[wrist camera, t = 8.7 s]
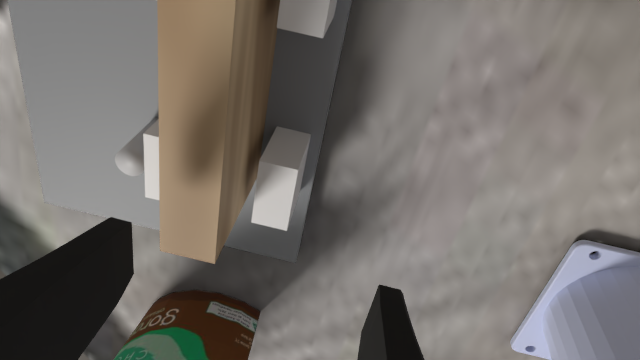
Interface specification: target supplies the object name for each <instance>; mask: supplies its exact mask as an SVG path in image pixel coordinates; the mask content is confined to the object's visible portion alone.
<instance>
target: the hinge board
mask: <svg viewBox="0 0 640 360" xmlns="http://www.w3.org/2000/svg"><path fill="white" fill-rule="evenodd" d="M8 5H9V11H10V16H11V22H12V28H13V33H14V39H15V44H16V50H17V55H18V61H19V66H20V72H21V77H22V83H23V88H24V94H25V99H26V105H27V110H28V116H29V121H30V127H31V132H32V138H33V143H34V149H35V154H36V160H37V165H38V171H39V176H40V182H41V187H42V193H43V198H44V203H47V204H51V205H55V206H60V207H64V208H68V209H72V210H76V211H80V212H85V213H89V214H93V215H97V216H101V217H105V218H110V217H113V218H117V219H121V220H125V221H129V222H132V224H135V225H139V226H143V227H147V228H151V229H155V230H159V231H160V205H159V107H158V10H157V0H8ZM351 5H352V0H280V5H279V13H278V21H277V36H276V43H275V51H274V58H273V66H272V74H271V81H270V89H269V97H268V104H267V112H266V119H265V127H264V135H263V142H262V150H261V158H260V160H259V167H258V174H257V179H256V181H255V183H254V185H253V187H252V189H251V191H250V193H249V195H248V197H247V199H246V201H245V203H244V205H243V207H242V209H241V211H240V214H239V216H238V218H237V220H236V222H235V224H234V226H233V228H232V230H231V232H230V234H229V236H228V238H227V240H226V242H225V244H224V246H226V247H230V248H234V249H239V250H243V251H247V252H251V253H255V254H259V255H264V256H268V257H272V258H276V259H280V260H284V261H288V262H293V263H296V260H297V257H298V253H299V249H300V244H301V240H302V235H303V230H304V226H305V221H306V216H307V212H308V207H309V202H310V197H311V193H312V188H313V183H314V179H315V174H316V169H317V165H318V160H319V155H320V150H321V146H322V141H323V136H324V132H325V127H326V122H327V118H328V113H329V108H330V103H331V99H332V94H333V89H334V85H335V80H336V75H337V71H338V66H339V61H340V56H341V52H342V47H343V42H344V38H345V33H346V28H347V24H348V19H349V14H350V9H351Z"/></svg>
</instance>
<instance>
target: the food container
mask: <svg viewBox="0 0 640 360" xmlns="http://www.w3.org/2000/svg"><path fill="white" fill-rule="evenodd" d="M259 316H260V311H259V310H257V309H255V308H254V307H252V306H250V305H249V304H247V303H245V302H243V301H240V300H237V299H235V298H232V297H229V296H226V295H224V294H221V293H215V292H207V291H200V290H190V291H181V292H173V293H171V294H169V295H166V296H164V297H162V298H160V299H159V300H157V301H156V302H155V303H154V304H153V305H152V306H151V308H150V309H149V310H148V312H147V313H146V315H145V316H144V317H143V319H142V320H141V322H140V323H139V325H138V326H137V327H136V329H135V330H134V332H133V333H132V334H131V336H130V337H129V339H128V340H127V342H126V343H125V344H124V346H123V347H122V349H121V350H120V351H119V353H118V354H117V356H116V357H115V358H114V360H248V357H249V353H250V350H251V346H252V342H253V338H254V334H255V331H256V327H257V323H258V319H259Z"/></svg>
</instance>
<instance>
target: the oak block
mask: <svg viewBox="0 0 640 360" xmlns="http://www.w3.org/2000/svg"><path fill="white" fill-rule="evenodd" d="M279 5H280V0H157V10H158V107H159V205H160V251H163V252H167V253H171V254H175V255H180V256H184V257H188V258H192V259H196V260H200V261H204V262H209V263H213V264H215V262H216V260H217V258H218V256H219V254H220V252H221V250H222V248H223V246H224V244H225V242H226V240H227V238H228V236H229V234H230V232H231V230H232V228H233V226H234V224H235V222H236V220H237V218H238V216H239V214H240V211H241V209H242V207H243V205H244V203H245V201H246V199H247V197H248V195H249V193H250V191H251V189H252V187H253V185H254V183H255V181H256V179H257V174H258V167H259V160H260V158H261V150H262V142H263V135H264V127H265V119H266V112H267V104H268V97H269V89H270V81H271V74H272V66H273V58H274V51H275V43H276V36H277V21H278V13H279Z"/></svg>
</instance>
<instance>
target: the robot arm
mask: <svg viewBox="0 0 640 360" xmlns="http://www.w3.org/2000/svg"><path fill="white" fill-rule="evenodd" d="M594 251H598V252H596V253H595V254H590V253H591V252H594ZM133 274H134V269H133V245H132V222H129V221H125V220H121V219H117V218H113V217H110V218H108V219H107V220H105V221H103V222H101V223H100V224H98V225H96V226H95V227H93V228H91V229H90V230H88V231H86V232H85V233H83V234H81V235H80V236H78V237H76V238H74V239H73V240H71V241H69V242H68V243H66V244H64V245H63V246H61V247H59V248H57V249H56V250H54V251H52V252H50V253H49V254H47V255H45V256H43V257H42V258H40V259H38V260H36V261H34V262H32V263H31V264H29V265H27V266H25V267H23V268H21V269H19V270H17V271H15V272H13V273H11V274H10V275H8V276H6V277H4V278H2V279H0V360H78V358H79V357H80V356H81V354H82V353H83V352H84V350H85V349H86V347H87V346H88V345H89V343H90V342H91V340H92V339H93V338H94V336H95V335H96V334H97V332H98V331H99V329H100V328H101V327H102V325H103V324H104V322H105V321H106V320H107V318H108V317H109V315H110V314H111V312H112V311H113V310H114V308H115V307H116V305H117V304H118V302H119V300H120V298H121V296H122V295H123V293H124V291H125V289H126V287H127V285H128V283H129V282H130V280H131V278H132V276H133ZM511 346H512V349H513V350H515V351H517V352H521V353H525V354H529V355H533V356H537V357H541V358H545V359H549V360H640V252H635V251H631V250H627V249H623V248H618V247H614V246H610V245H606V244H601V243H597V242H593V241H589V240H580V241H577V242H575V243H574V244H573V245H572V246H571V247H570V249H569V250H568V252H567V254H566V255H565V257H564V258H563V260H562V261H561V263H560V264H559V266H558V267H557V269H556V271H555V272H554V274H553V275H552V277H551V278H550V280H549V281H548V283H547V285H546V286H545V288H544V289H543V291H542V292H541V294H540V295H539V297H538V299H537V300H536V302H535V303H534V305H533V306H532V308H531V309H530V311H529V313H528V314H527V316H526V317H525V319H524V320H523V322H522V323H521V325H520V327H519V328H518V330H517V331H516V333H515V334H514V336H513V337H512V339H511ZM358 360H424V358H423V355H422V352H421V350H420V347H419V344H418V342H417V339H416V336H415V333H414V330H413V327H412V324H411V321H410V318H409V314H408V311H407V308H406V304H405V300H404V296H403V293H402V292H401V290H399V289H395V288H391V287H387V286H383V285H379V286H378V289H377V292H376V294H375V297H374V300H373V302H372V305H371V308H370V310H369V313H368V316H367V318H366V321H365V324H364V327H363V329H362V332H361V339H360V346H359V353H358Z"/></svg>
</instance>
